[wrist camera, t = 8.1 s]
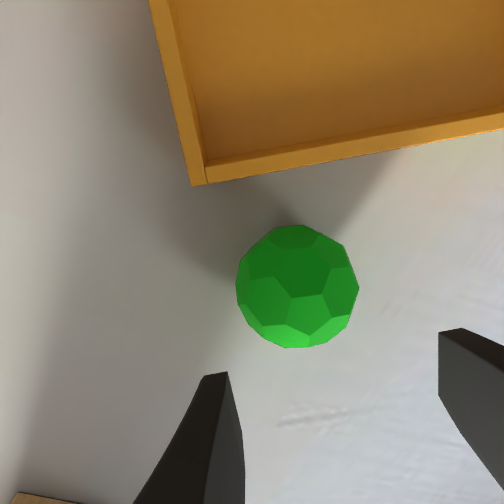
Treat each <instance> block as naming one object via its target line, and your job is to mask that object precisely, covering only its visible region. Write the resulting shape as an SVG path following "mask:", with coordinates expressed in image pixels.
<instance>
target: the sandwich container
mask: <svg viewBox="0 0 504 504" xmlns="http://www.w3.org/2000/svg"><path fill="white" fill-rule="evenodd" d="M10 504H76V503H70V502H65V501H60V500H55V499H50V498H45V497H39V496H34V495H29V494H24V493H19V492H18V493H17V494H16V495H15V496H14V498H13V500H12V502H11V503H10Z"/></svg>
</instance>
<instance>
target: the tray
mask: <svg viewBox="0 0 504 504" xmlns="http://www.w3.org/2000/svg"><path fill="white" fill-rule="evenodd" d="M148 3H149V8H150V12H151V16H152V21H153V25H154V29H155V33H156V38H157V42H158V46H159V51H160V55H161V59H162V63H163V68H164V72H165V76H166V81H167V85H168V89H169V94H170V98H171V102H172V106H173V111H174V115H175V119H176V124H177V128H178V132H179V137H180V141H181V145H182V149H183V154H184V158H185V162H186V167H187V171H188V175H189V180H190V184H191V186H192V187H195V186H201V185H206V184H207V183H208V184H212V183H217V182H222V181H228V180H233V179H239V178H244V177H249V176H255V175H260V174H265V173H271V172H276V171H281V170H287V169H292V168H298V167H303V166H308V165H314V164H319V163H324V162H330V161H335V160H341V159H346V158H351V157H357V156H362V155H367V154H373V153H378V152H383V151H389V150H394V149H400V148H405V147H410V146H416V145H421V144H426V143H432V142H437V141H442V140H448V139H453V138H459V137H464V136H469V135H475V134H480V133H485V132H491V131H496V130H501V129H504V0H148Z"/></svg>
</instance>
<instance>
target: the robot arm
mask: <svg viewBox="0 0 504 504" xmlns="http://www.w3.org/2000/svg"><path fill="white" fill-rule="evenodd" d="M438 395H439V397H440V399H441V401H442V402H443V404H444V406H445V408H446V409H447V411H448V413H449V415H450V416H451V418H452V420H453V421H454V423H455V425H456V426H457V428H458V430H459V431H460V433H461V434H462V436H463V437H464V438H465V440H466V441H467V442H468V444H469V445H470V446H471V448H472V449H473V450H474V452H475V453H476V454H477V456H478V457H479V458H480V460H481V461H482V462H483V464H484V465H485V466H486V468H487V469H488V470H489V472H490V473H491V474H492V476H493V477H494V478H495V480H496V481H497V482H498V484H499V485H500V486H501V487H502V489H503V490H504V346H503V345H500V344H498V343H496V342H494V341H492V340H489V339H487V338H485V337H483V336H480V335H478V334H476V333H473V332H471V331H469V330H466V329H463V328H459V329H453V330H448V331H442V332H438ZM133 504H245V462H244V450H243V439H242V430H241V426H240V422H239V418H238V413H237V409H236V405H235V401H234V397H233V393H232V389H231V384H230V380H229V376H228V372H227V371H226V372H221V373H216V374H210V375H205V376H204V377H203V378H202V379H201V381H200V383H199V386H198V388H197V390H196V392H195V395H194V397H193V399H192V401H191V403H190V405H189V407H188V409H187V411H186V413H185V415H184V417H183V419H182V421H181V423H180V425H179V427H178V429H177V431H176V432H175V434H174V436H173V438H172V440H171V442H170V444H169V445H168V447H167V449H166V451H165V452H164V454H163V456H162V457H161V459H160V461H159V462H158V464H157V466H156V467H155V469H154V471H153V472H152V474H151V476H150V477H149V479H148V481H147V482H146V484H145V485H144V487H143V489H142V490H141V492H140V493H139V495H138V496H137V498H136V499H135V501H134V502H133Z"/></svg>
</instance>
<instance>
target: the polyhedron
mask: <svg viewBox="0 0 504 504" xmlns="http://www.w3.org/2000/svg"><path fill="white" fill-rule="evenodd" d="M358 291H359V285H358V283H357V280H356V277H355V274H354V271H353V268H352V266H351V263H350V261H349V258H348V256H347V253H346V251H345V248H344V246H343V245H341V244H339V243H338V242H336V241H334V240H332V239H330V238H328V237H327V236H325V235H323V234H321V233H319V232H317V231H315V230H313V229H311V228H309V227H306V226H304V225H297V226H290V227H282V228H276V229H275V230H273V231H271V232H269V233H268V234H267V235H266V236H264V237H263V238H262V239H261V240H260V241H259V242H258V243H257V244H255V245H254V246H253V247H252V248H251V249H250V250H249V251H248V253H247V254H246V255H245V256H244V257H243V258H242V260H241V261H240V264H239V269H238V274H237V279H236V293H237V302H238V306H239V308H240V309H241V311H242V313H243V315H244V317H245V319H246V321H247V322H248V324H249V325H250V326H251V327H252V328H253V329H254V330H255V331H256V332H257V333H258V334H259V335H260V336H262V337H263V338H264V339H266V340H268V341H271V342H273V343H275V344H277V345H279V346H282V347H284V348H303V347H311V346H315V345H319V344H322V343H326V342H328V341H329V340H330V339H332V338H333V337H334V336H336V335H337V334H338V333H339V332H341V331H342V330H343V329H344V328H346V326H347V324H348V321H349V318H350V315H351V312H352V309H353V306H354V303H355V300H356V297H357V294H358Z"/></svg>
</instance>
